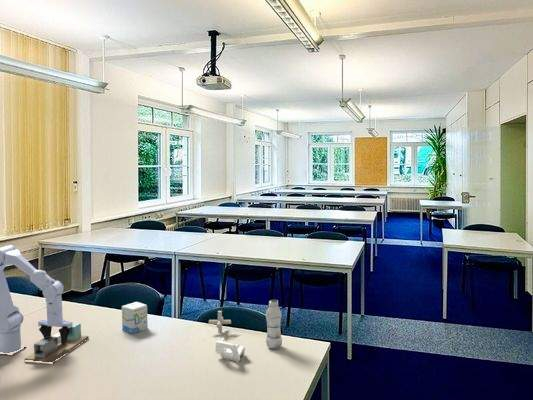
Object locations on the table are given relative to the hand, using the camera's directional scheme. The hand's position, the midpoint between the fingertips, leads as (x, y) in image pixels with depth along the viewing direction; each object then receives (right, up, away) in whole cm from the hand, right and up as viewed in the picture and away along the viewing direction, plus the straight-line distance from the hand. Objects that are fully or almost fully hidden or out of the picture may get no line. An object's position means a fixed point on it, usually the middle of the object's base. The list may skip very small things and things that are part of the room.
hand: (56, 343), depth 174 cm
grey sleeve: (-1, -2, -6) cm, 6 cm away
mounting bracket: (+72, -4, -7) cm, 73 cm away
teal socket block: (+2, -1, +10) cm, 11 cm away
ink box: (+25, -2, +23) cm, 35 cm away
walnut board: (0, -3, 0) cm, 3 cm away
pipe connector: (+66, -2, +18) cm, 69 cm away
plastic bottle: (+91, -3, +1) cm, 91 cm away
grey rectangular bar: (0, 0, -1) cm, 1 cm away
